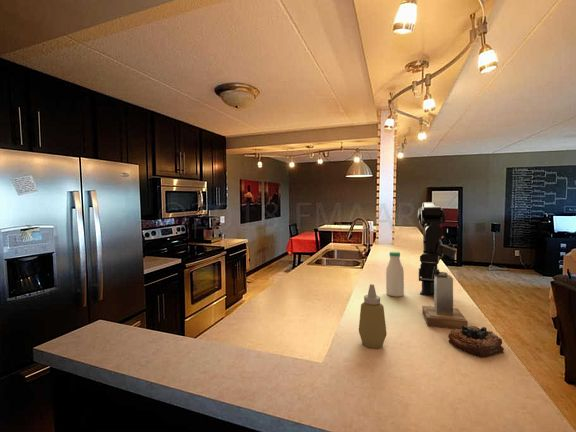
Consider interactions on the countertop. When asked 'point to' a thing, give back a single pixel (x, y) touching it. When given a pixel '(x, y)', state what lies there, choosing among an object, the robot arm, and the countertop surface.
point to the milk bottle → (395, 276)
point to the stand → (444, 318)
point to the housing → (443, 293)
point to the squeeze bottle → (372, 320)
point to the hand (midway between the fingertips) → (432, 276)
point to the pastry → (476, 341)
